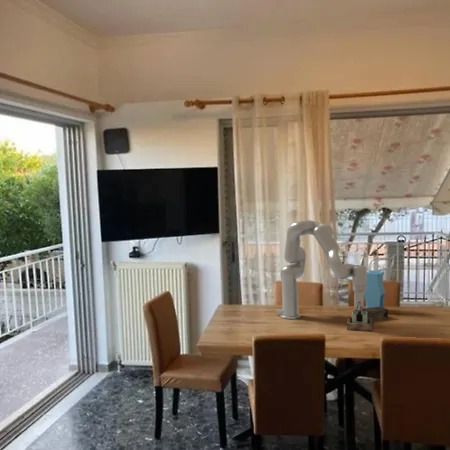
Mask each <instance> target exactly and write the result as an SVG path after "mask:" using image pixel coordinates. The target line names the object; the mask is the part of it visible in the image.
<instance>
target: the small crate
mask: <svg viewBox="0 0 450 450" xmlns="http://www.w3.org/2000/svg"><path fill="white" fill-rule="evenodd" d="M356 314H357V311H355V310H352V312H351V317H352V323H358V324H367V312H366V311H362V314H363V321H362V322H359V321H356Z"/></svg>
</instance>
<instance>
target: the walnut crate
mask: <svg viewBox="0 0 450 450" xmlns="http://www.w3.org/2000/svg"><path fill="white" fill-rule="evenodd" d="M346 331H359V332H360V331H362V332H373V321H372V318H367V324H358V323H352V316H348V317H347V321H346Z"/></svg>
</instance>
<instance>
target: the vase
mask: <svg viewBox="0 0 450 450" xmlns="http://www.w3.org/2000/svg"><path fill="white" fill-rule="evenodd" d="M384 275H385V271H384V270H375V269H374V270H373V269H369V270H368V271H367V291H365V292H364V300H365V304H366V305H365V308H372V307H378V306H381V307H383V308H385V295H386V290H385V286H384V283H383V280H384Z"/></svg>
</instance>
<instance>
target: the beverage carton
mask: <svg viewBox="0 0 450 450" xmlns="http://www.w3.org/2000/svg"><path fill="white" fill-rule="evenodd" d="M354 311H357V309H354ZM362 311H366V312H367V318H372V322H375V321H381V320H380V319H382V320H386V319H385V318H387V319H388V318H389V309H388V308H386V307H384V308H383V307H381V306H378V307H372V308H366V307H365V308H363V309H362Z"/></svg>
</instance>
